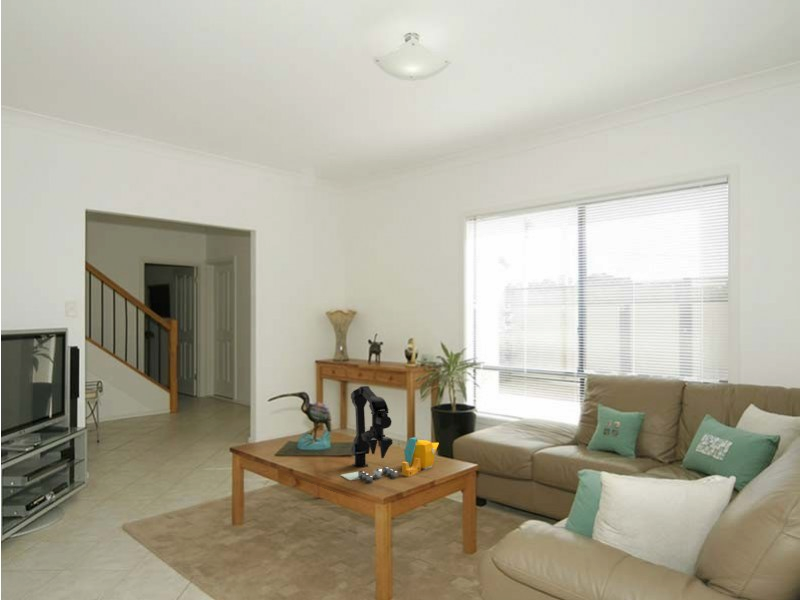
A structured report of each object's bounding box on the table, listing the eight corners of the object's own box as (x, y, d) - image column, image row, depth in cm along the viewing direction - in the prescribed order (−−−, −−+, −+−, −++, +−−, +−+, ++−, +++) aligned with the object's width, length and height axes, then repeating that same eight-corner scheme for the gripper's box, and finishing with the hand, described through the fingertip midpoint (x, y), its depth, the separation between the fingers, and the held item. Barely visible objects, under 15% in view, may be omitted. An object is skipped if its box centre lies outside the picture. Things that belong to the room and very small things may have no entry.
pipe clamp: (408, 476, 277) (408, 463, 278) (401, 475, 280) (401, 462, 280) (423, 471, 287) (423, 458, 287) (416, 470, 289) (416, 457, 290)
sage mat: (340, 475, 279) (340, 474, 279) (358, 472, 285) (358, 471, 285) (349, 480, 271) (349, 479, 271) (367, 477, 276) (367, 476, 276)
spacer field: (357, 477, 276) (357, 471, 276) (386, 472, 285) (386, 466, 285) (368, 483, 266) (368, 477, 266) (398, 477, 276) (398, 471, 276)
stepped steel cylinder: (371, 477, 276) (371, 469, 276) (379, 476, 279) (379, 467, 279) (376, 479, 273) (376, 471, 273) (384, 478, 275) (384, 469, 275)
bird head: (449, 462, 303) (448, 432, 304) (418, 472, 284) (417, 441, 285) (429, 458, 313) (429, 429, 313) (398, 467, 294) (398, 437, 294)
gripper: (354, 423, 280) (354, 454, 280) (373, 429, 264) (373, 462, 264) (373, 420, 286) (373, 451, 286) (393, 427, 270) (393, 459, 270)
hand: (377, 456), depth 276 cm, fingers open, 9 cm apart
